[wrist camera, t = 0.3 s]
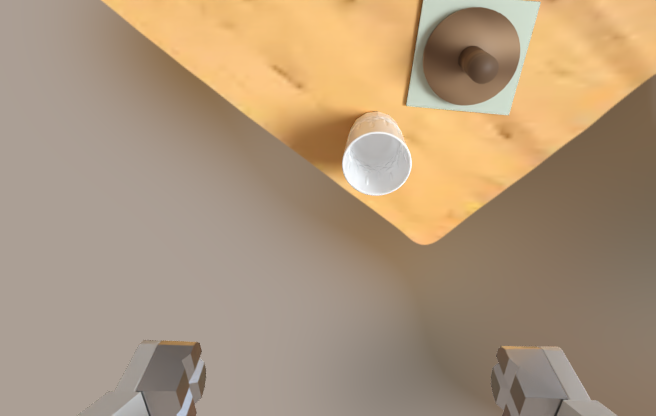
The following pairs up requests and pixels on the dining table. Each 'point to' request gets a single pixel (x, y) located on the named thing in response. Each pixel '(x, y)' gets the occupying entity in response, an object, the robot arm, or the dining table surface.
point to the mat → (437, 7)
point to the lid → (471, 56)
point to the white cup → (376, 155)
